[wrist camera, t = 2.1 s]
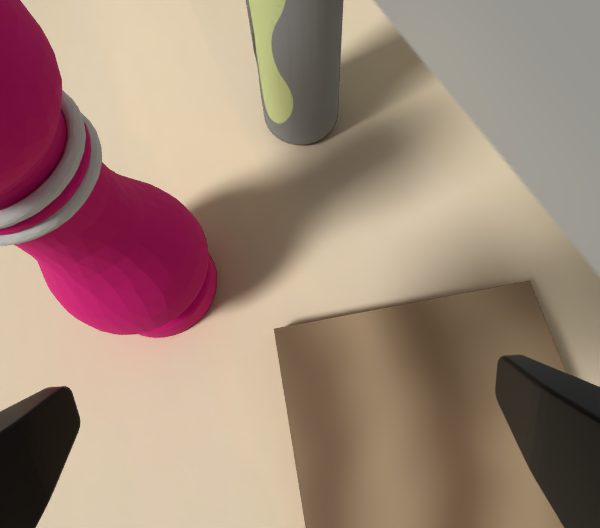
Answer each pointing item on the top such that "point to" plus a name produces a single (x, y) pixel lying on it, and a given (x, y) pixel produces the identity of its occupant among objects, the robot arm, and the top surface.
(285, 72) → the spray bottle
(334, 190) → the top surface
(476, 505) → the taupe cutting board
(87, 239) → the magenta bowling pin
